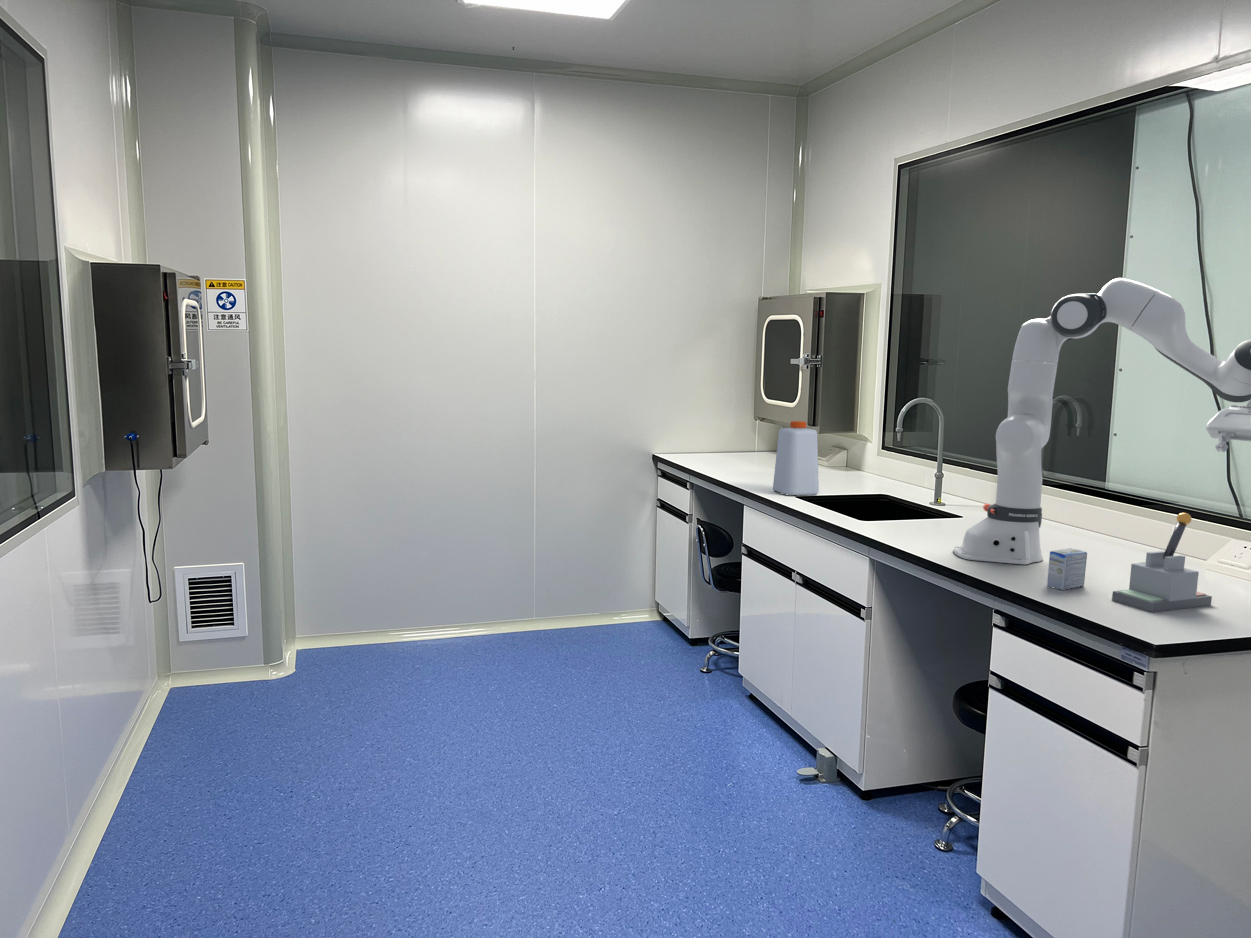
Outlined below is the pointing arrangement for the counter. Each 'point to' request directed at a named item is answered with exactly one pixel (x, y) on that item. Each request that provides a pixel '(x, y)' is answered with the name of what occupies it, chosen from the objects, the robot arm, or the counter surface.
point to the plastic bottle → (797, 461)
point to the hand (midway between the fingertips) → (1236, 451)
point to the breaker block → (1162, 585)
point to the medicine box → (1067, 568)
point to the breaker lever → (1177, 534)
